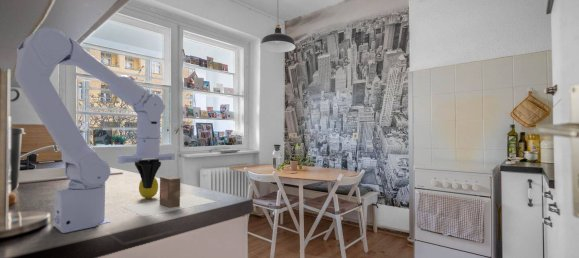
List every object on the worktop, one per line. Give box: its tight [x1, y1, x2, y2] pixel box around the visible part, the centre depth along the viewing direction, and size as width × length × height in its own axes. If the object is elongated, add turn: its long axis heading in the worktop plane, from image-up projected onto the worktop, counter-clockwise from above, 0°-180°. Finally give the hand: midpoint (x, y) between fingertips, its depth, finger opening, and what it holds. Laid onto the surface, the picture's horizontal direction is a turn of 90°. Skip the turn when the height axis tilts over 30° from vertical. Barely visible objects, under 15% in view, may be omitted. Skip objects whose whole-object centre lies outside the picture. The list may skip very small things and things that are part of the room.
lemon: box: [138, 177, 159, 200], centre depth 95 cm, size 6×6×8 cm
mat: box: [121, 194, 217, 217], centre depth 88 cm, size 22×14×1 cm, turn 140°
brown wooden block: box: [159, 175, 181, 208], centre depth 87 cm, size 3×6×8 cm, turn 50°
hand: (147, 187), depth 82 cm, fingers closed
